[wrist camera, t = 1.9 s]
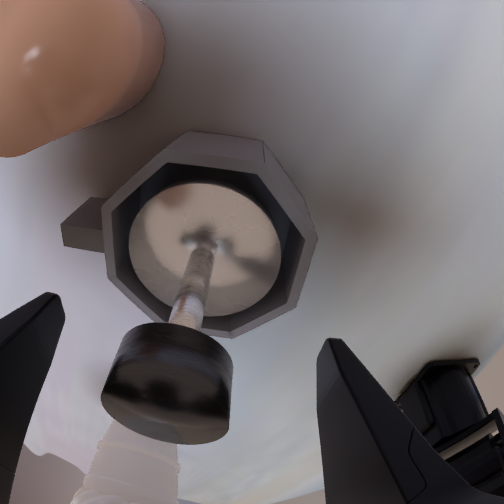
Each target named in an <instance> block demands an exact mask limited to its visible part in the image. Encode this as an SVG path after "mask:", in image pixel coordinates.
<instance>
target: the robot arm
mask: <svg viewBox="0 0 504 504" xmlns="http://www.w3.org/2000/svg"><path fill="white" fill-rule="evenodd" d="M64 323H65V313H64V309H63V306H62V302H61V299H60V296H59V295H58V294H55V293H51V292H46V293H44V294H42V295H40V296H38V297H37V298H35V299H33V300H32V301H30V302H28V303H26V304H25V305H23V306H21V307H20V308H18V309H16V310H15V311H13V312H11V313H10V314H8V315H6V316H5V317H3V318H1V319H0V504H9V500H10V494H11V490H12V485H13V481H14V477H15V474H14V473H15V472H16V468H17V463H18V460H19V456H20V452H21V449H22V445H23V442H24V439H25V435H26V432H27V429H28V426H29V423H30V420H31V417H32V414H33V411H34V408H35V405H36V402H37V400H38V397H39V394H40V391H41V389H42V386H43V384H44V381H45V378H46V376H47V373H48V371H49V368H50V366H51V363H52V360H53V357H54V354H55V350H56V347H57V344H58V341H59V338H60V335H61V332H62V329H63V326H64ZM479 365H480V362H479V360H478V359H471V360H457V361H438V362H431V363H429V364H427V365H426V366H425V368H424V369H423V370H422V371H421V373H420V374H419V375H418V376H417V378H416V379H415V380H414V381H413V383H412V384H411V385H410V386H409V387H408V389H407V390H406V391H405V392H404V393H403V394H402V396H401V397H400V398H399V399H398V400H397V401H396V402H394V401H393V400H392V399H391V397H390V396H389V395H388V394H387V393H386V391H385V390H384V389H383V388H382V387H381V385H380V384H379V383H378V382H377V381H376V379H375V378H374V377H373V376H372V375H371V373H370V372H369V371H368V370H367V369H366V367H365V366H364V365H363V364H362V363H361V361H360V360H359V359H358V358H357V357H356V356H355V354H354V353H353V352H352V351H351V350H350V348H349V347H348V346H347V345H346V344H345V342H344V341H343V340H341V339H338V338H327V339H326V341H325V342H324V344H323V347H322V349H321V351H320V353H319V355H318V358H317V418H318V427H319V436H320V445H321V455H322V465H323V475H324V486H325V497H326V504H504V415H503V414H502V412H501V411H500V410H499V409H498V408H496V409H495V410H493V411H492V413H491V414H488V412H487V409H486V407H485V405H484V402H483V400H482V398H481V396H480V393H479V391H478V389H477V387H476V385H475V383H474V380H473V378H472V376H471V375H472V373H473V372H474V371H475V370H476V369H477V368H478V366H479ZM401 410H403V412H402V411H401ZM496 430H498V431H499V433H498V434H496V435H495V436H493V435H492V433H493V432H495V431H496Z"/></svg>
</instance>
